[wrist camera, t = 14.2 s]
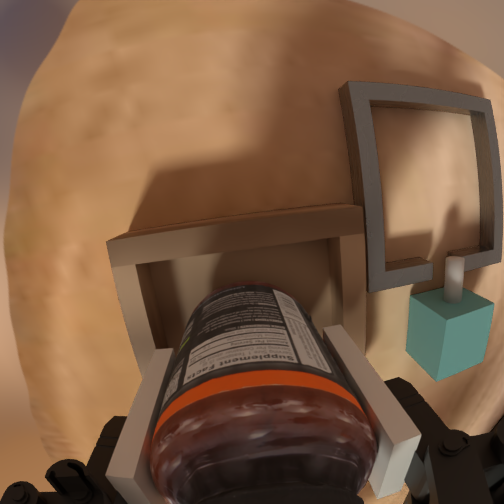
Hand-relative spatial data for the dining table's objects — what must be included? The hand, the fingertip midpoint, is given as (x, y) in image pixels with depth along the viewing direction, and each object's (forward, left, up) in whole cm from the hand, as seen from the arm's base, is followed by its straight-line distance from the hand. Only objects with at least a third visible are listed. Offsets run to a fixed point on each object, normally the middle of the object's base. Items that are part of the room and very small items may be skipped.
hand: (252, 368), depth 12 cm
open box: (0, 0, -5) cm, 5 cm away
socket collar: (+6, -12, -5) cm, 15 cm away
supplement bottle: (0, 0, -3) cm, 3 cm away
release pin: (-1, -12, -5) cm, 13 cm away
